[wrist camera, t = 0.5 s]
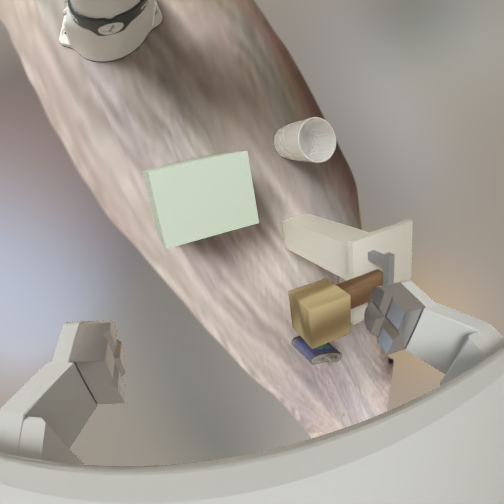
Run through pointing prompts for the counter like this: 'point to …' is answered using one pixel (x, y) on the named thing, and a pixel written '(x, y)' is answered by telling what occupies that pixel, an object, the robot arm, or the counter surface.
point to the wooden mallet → (329, 306)
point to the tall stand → (352, 249)
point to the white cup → (306, 140)
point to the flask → (317, 352)
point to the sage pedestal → (201, 197)
